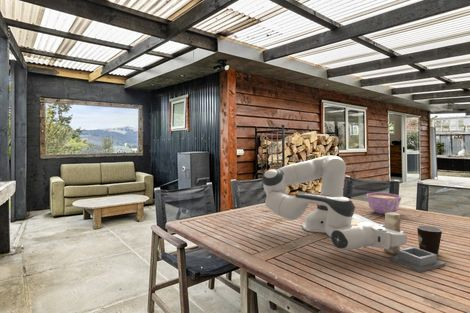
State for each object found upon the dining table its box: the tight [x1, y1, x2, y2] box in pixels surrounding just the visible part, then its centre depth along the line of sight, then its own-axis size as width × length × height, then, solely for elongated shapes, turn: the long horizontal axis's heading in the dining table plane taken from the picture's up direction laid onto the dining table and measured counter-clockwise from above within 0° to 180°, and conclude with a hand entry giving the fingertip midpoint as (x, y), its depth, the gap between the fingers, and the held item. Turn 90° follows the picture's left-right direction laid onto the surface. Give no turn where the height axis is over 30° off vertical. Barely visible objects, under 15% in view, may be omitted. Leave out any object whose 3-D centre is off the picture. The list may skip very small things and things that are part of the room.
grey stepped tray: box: [388, 246, 446, 273], centre depth 107 cm, size 14×12×4 cm
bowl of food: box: [366, 192, 402, 215], centre depth 183 cm, size 20×20×12 cm
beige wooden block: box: [383, 212, 401, 254], centre depth 118 cm, size 4×4×16 cm
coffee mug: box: [416, 224, 443, 256], centre depth 118 cm, size 12×9×10 cm
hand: (393, 230), depth 118 cm, fingers open, 8 cm apart
